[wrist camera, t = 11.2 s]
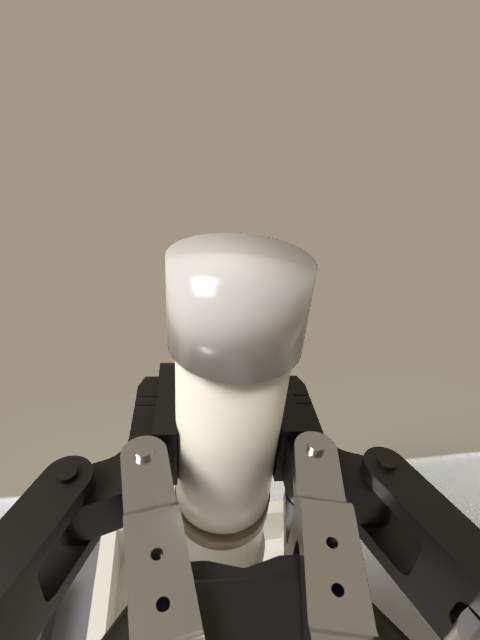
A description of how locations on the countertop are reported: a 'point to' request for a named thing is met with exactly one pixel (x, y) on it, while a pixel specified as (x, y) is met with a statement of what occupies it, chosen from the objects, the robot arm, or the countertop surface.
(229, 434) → the white capped peg
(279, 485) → the countertop surface
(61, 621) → the grey board with tray
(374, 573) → the countertop surface
